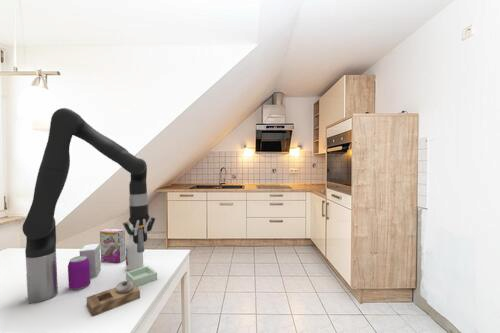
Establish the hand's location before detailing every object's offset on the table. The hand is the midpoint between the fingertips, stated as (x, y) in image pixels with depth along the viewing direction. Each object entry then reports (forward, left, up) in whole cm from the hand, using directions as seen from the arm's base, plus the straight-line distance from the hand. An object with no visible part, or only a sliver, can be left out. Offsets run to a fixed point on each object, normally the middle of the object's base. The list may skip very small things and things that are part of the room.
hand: (140, 242), depth 112 cm
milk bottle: (+2, +14, -17) cm, 22 cm away
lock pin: (0, 0, -4) cm, 4 cm away
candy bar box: (-3, +31, -17) cm, 35 cm away
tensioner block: (-14, -10, -17) cm, 24 cm away
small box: (-15, +22, -17) cm, 32 cm away
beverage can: (-21, +13, -17) cm, 30 cm away
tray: (0, 0, -17) cm, 17 cm away
